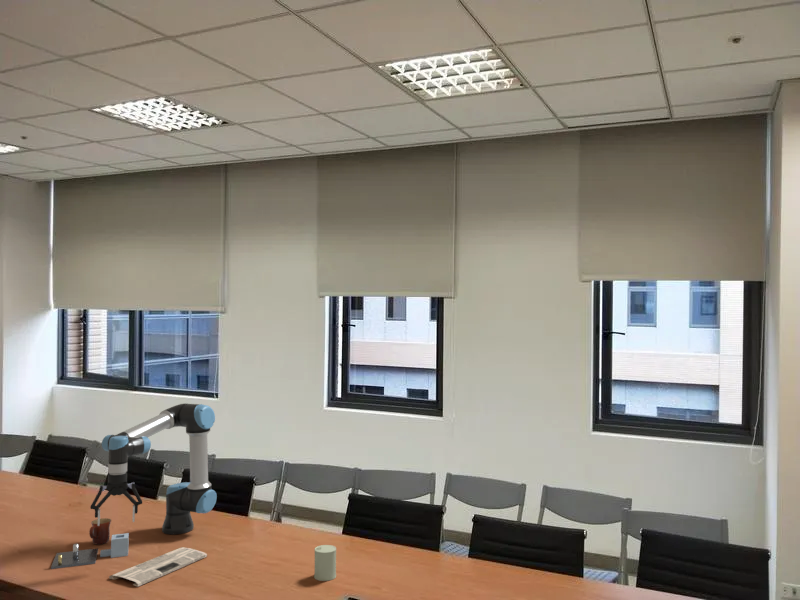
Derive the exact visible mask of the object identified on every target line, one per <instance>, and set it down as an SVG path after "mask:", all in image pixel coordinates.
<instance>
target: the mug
mask: <svg viewBox="0 0 800 600" xmlns="http://www.w3.org/2000/svg"><path fill="white" fill-rule="evenodd" d="M90 523H91V524H90V525H91V526H90V528H89V531H88V532H89V537H90V539H91V541H92V543H93V545H96V546H102V545H105V544H107V543H108V542H109V541H110V531H111V530H110V526H111V523H112V519H111V518H107V517H105V518H100V526H98V518H97V519H94V520H92V521H91V522H90Z"/></svg>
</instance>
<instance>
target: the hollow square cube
mask: <svg viewBox="0 0 800 600" xmlns="http://www.w3.org/2000/svg"><path fill="white" fill-rule="evenodd" d="M129 534H130V533H129V532H126V533H117V534H112V535H111V538H110V541H111V543H110V548H109V549H108V548H107V549H101V550H100V551H99V552H100V553H99V557H100V558H105V557H110V558H111V559H113V558H119V557H120V558H121V557H128V555H129V545H130V544H129V536H130V535H129Z"/></svg>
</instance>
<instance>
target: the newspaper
mask: <svg viewBox="0 0 800 600" xmlns="http://www.w3.org/2000/svg"><path fill="white" fill-rule="evenodd" d="M207 557H208V554H207V552H204V551H201V550H197V549H195V548H190V547H183V546H182V547H179V548H177V549H174V550H171V551H169V552H166V553H164V554H161V555H159V556H156V557H154V558H152V559H149V560H146V561H144V562H141V563H139V564H136V565H134V566H132V567H128V568H126V569H124V570H121V571H118V572H116V573H114V574H112V575H109V576H108V578H109V580H118V579H120V578H123V579H126V580H129V581H132V582H134V583H132V585H133V586H135V587H138V588H139V587H141V586H143V585H146V584H148V583H150V582H152V581H155V580H157V579H159V578H162V577H163V576H167V575H168V574H171V573H173V572H176V571H177V570H180V569H182V568H184V567H187V566H189V565H191V564H193V563H196V562H198V561H200V560H203V559H204V558H207Z"/></svg>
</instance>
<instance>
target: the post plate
mask: <svg viewBox="0 0 800 600" xmlns="http://www.w3.org/2000/svg"><path fill="white" fill-rule="evenodd" d="M79 546H80V544H79V543H74V544H73V545H72V550H71V551H63V552H56V554H55V557H54V559H53V561H52V564H51V565H50V569H51V570H54V569H55V570H56V569H62V568H70V567H78V566H79V567H80V566H86V565H95V564H96V561H97V556H98V553H99V548H98V547H97V548H89V549H88V548H87V549H80V550H79Z"/></svg>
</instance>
